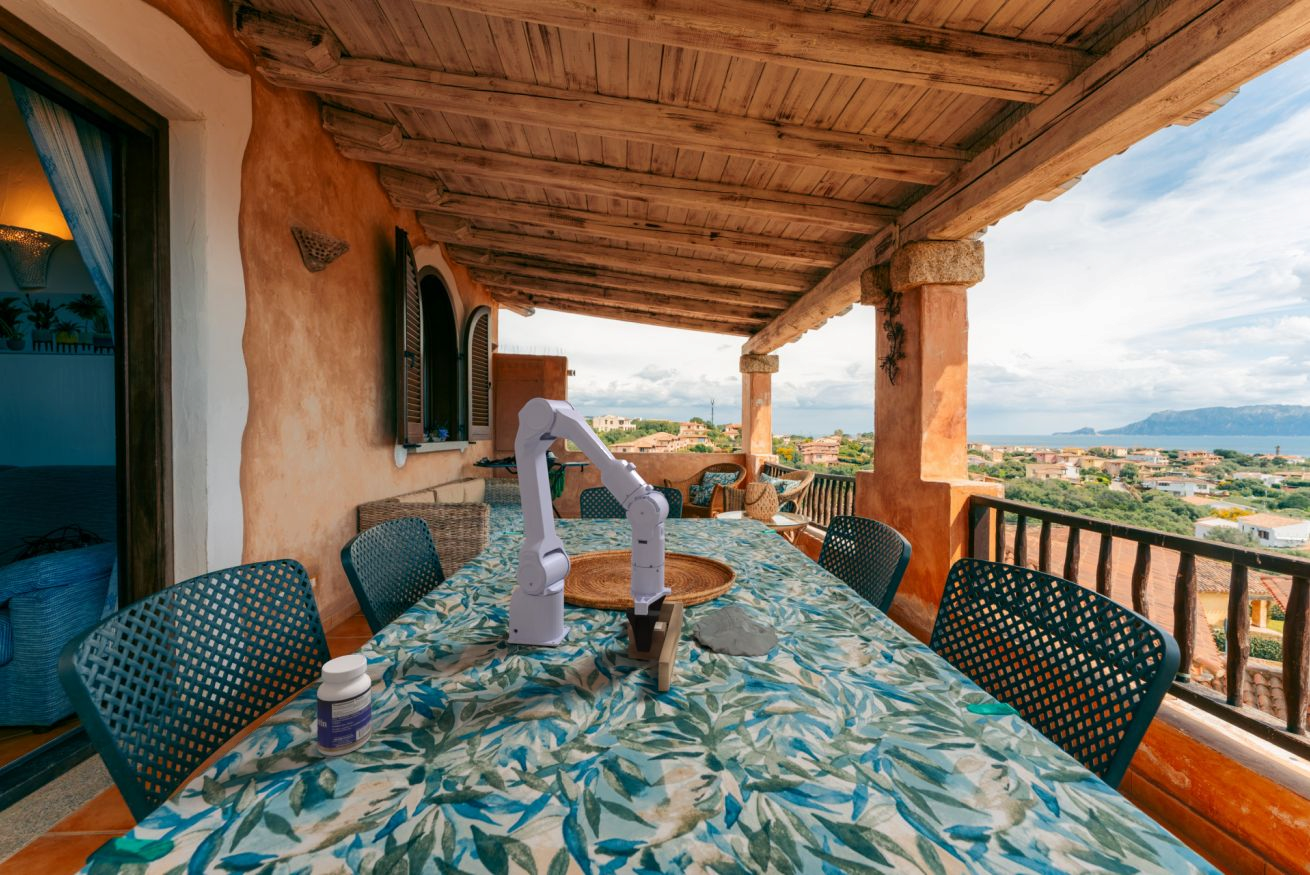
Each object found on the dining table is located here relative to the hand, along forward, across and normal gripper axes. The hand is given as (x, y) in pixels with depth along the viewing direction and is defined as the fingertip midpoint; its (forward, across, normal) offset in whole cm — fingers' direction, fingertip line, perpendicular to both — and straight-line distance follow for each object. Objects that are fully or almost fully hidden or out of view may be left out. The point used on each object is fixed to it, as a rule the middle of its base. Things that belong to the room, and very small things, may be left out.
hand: (647, 641), depth 88 cm
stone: (+3, +9, -15) cm, 18 cm away
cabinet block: (+2, 0, 0) cm, 2 cm away
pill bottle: (+2, -30, +33) cm, 45 cm away
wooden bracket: (+2, +2, 0) cm, 3 cm away
